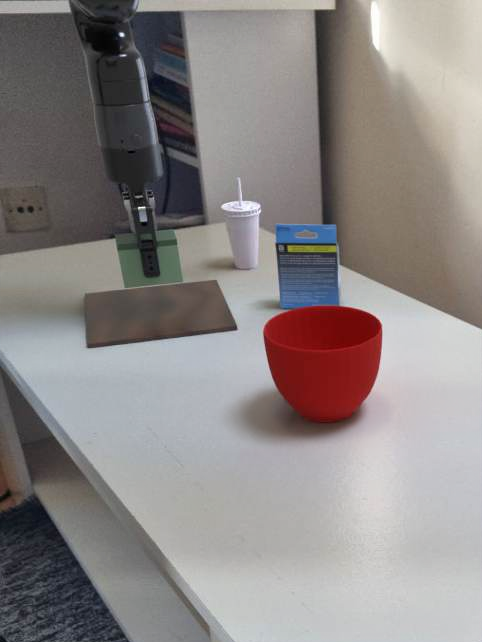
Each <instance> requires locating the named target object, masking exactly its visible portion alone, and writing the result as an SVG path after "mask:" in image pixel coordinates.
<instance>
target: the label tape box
mask: <svg viewBox="0 0 482 642" xmlns="http://www.w3.org/2000/svg"><path fill="white" fill-rule="evenodd" d="M274 231H275V232H274V233H275V243H274V244H275V254H276V265H277V266H276V267H277V278H278V279H277V280H278V291H279V303H280V308H281V309H284V310H285V309H287V310H293V309H297V308H302V307H308V306H320V305H333V306H341V300H342V299H341V297H342V296H341V295H342V289H341V263H340V262H341V261H340V247H339V243H338V242H337V224H310V223H309V224H307V223H306V224H303V223H274ZM304 232H307V233H308V234H314V235H315V237H301V236H300V237H298V236H296V234H303V233H304Z"/></svg>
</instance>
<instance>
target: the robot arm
mask: <svg viewBox="0 0 482 642" xmlns="http://www.w3.org/2000/svg"><path fill="white" fill-rule="evenodd" d="M67 1H68V6H69V10H70V14H71V18H72V21H73V25H74V29H75V31H76V34H77V38H78V41H79V44H80V46H81V50H82V53H83V56H84V60H85V66H86V67H85V68H86V74H87V80H88V86H89V90H90V95H91V101H92V107H93V120H94V127H95V132H96V138H97V143H98V147H99V153H100V157H101V158H100V159H101V162H102V163H101V164H102V168H103V175H104V178H105V179H106V181H108V182H109V183H112V184H116V185H123V184H124V185H125V186H124V188H125V191H126V192H125V191H124V192H121V194H122V199H123V205H124V209H125V210H126V212H127V217H128V222H129V225H130V230H131V233H135V234H136V237H137V243H138V244H137V248H139V251H140V255H141V261H142V266H143V272H144V276H145V277H146V278H152V277H159V276H160V268H159V262H158V256H157V250H156V249H158V242H157V241H156V234H155V231H158V224H157V223H158V222H157V217H156V212H155V208H156V201H155V196H154V194H153V189H152V190H151V189H150V190H147V184H148V183H150V182H156V181H158V180H160V179H162V177H163V175H164V168H163V162H162V154H161V148H160V142H159V136H158V135H159V134H158V130H157V129H158V128H157V123H156V118H155V114H154V110H153V107H152V103H151V102H152V101H151V97H150V91H149V84H148V83H149V82H148V78H147V71H146V67H145V62H144V59H143V56H142V54H141V53H140V51H139V50H138V49H137V47H136V45H135V42H134V37H133V32H132V27H131V23H130V22H131V21H130V20H131V19H132V18H133V17H134V15H135V14H136V12H137V11H138V7H139V4H140V0H67ZM149 233H150V234H151V237H152V239H150V240H141V237H140V236H141V234H149Z"/></svg>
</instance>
